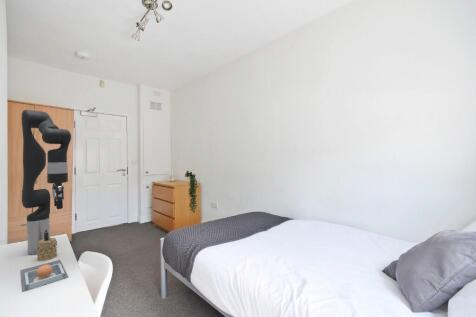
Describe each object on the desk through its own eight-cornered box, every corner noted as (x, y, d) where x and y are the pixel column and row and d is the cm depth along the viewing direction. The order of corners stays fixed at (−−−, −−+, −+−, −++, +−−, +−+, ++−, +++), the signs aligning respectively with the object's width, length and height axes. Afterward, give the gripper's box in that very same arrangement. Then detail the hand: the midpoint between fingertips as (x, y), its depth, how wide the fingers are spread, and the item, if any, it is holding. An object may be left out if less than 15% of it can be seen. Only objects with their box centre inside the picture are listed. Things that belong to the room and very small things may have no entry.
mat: (20, 271, 101) (20, 270, 101) (60, 260, 111) (60, 259, 111) (22, 293, 84) (21, 292, 84) (68, 278, 94) (68, 277, 94)
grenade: (45, 262, 110) (44, 231, 109) (33, 261, 111) (32, 230, 111) (60, 255, 117) (59, 226, 117) (49, 255, 118) (48, 226, 118)
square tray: (24, 277, 95) (24, 272, 95) (60, 267, 103) (59, 262, 103) (26, 290, 85) (26, 285, 85) (65, 278, 93) (64, 273, 93)
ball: (51, 272, 98) (51, 261, 97) (53, 277, 94) (52, 265, 94) (36, 277, 94) (35, 265, 94) (37, 282, 90) (36, 269, 90)
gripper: (70, 172, 103) (70, 208, 103) (65, 171, 113) (66, 203, 113) (48, 173, 98) (49, 211, 98) (45, 171, 108) (46, 206, 108)
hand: (58, 207), depth 106 cm, fingers open, 8 cm apart
